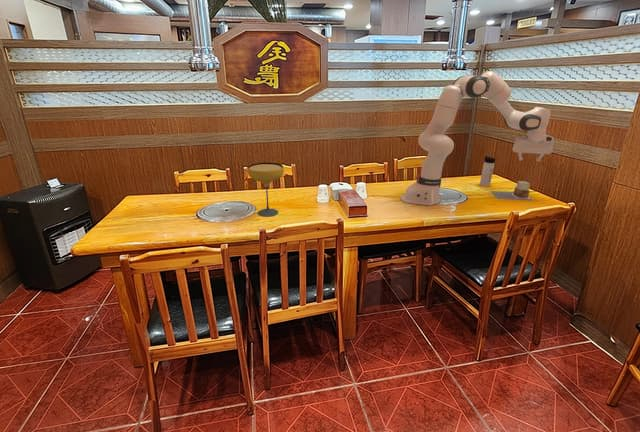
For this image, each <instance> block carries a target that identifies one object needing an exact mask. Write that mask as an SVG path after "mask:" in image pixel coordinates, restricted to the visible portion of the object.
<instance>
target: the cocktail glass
mask: <svg viewBox="0 0 640 432" xmlns="http://www.w3.org/2000/svg"><path fill="white" fill-rule="evenodd" d="M284 169H285V168H284V166H283V164H280V163H276V162H258V163H253V164H251V165H248V167H247V175H248V176H249V177H250V178H251V179H252V180H254V181H257V182H260V183H261V184H263V186H265V192H266V193H265V194H266V208H263V209H260V210H258V211H257V215H258V216H261V217H265V218H266V217H269V218H270V217H274V216H276V215H278V214H279V210H278V209H276V208H270V207H269V205H270V204H269V194H268V187H269V185H270V184H271V183H273V182H274V181H277V180H278V179H280V178H281V177H282V176H283V175H284V172H285V171H284Z"/></svg>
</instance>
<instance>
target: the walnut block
mask: <svg viewBox="0 0 640 432" xmlns="http://www.w3.org/2000/svg"><path fill="white" fill-rule="evenodd" d="M513 192H514V195H515V196H516V197H519V198H528V196H529V195H530V189H529V190H519V189H518V188H516V187H514V191H513Z"/></svg>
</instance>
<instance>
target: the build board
mask: <svg viewBox="0 0 640 432" xmlns="http://www.w3.org/2000/svg"><path fill="white" fill-rule="evenodd" d="M489 192H490V193H491V194H492V195H493V196H494V197H495V198H496V199H497V200H507V201H508V200H512V201H513V200H514V201H529V202H530V201H531V202H534V200H533V199H532V198H531V197H530V196H529V195H528V198H519V197H516V196H515V195H514V191H501V190H498V191H497V190H496V191H495V190H489Z"/></svg>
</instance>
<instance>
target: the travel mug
mask: <svg viewBox="0 0 640 432" xmlns="http://www.w3.org/2000/svg"><path fill="white" fill-rule="evenodd" d="M483 159H484V161H483V166H482V171H481V175H480V181H479V186H481V187H484V188H490V186H491V184H492V183H491V182H492V179H493V178H492V176H493V173H494V167H495V163H496V158H495V157H493V156H486V155H485V156H484V158H483Z"/></svg>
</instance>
